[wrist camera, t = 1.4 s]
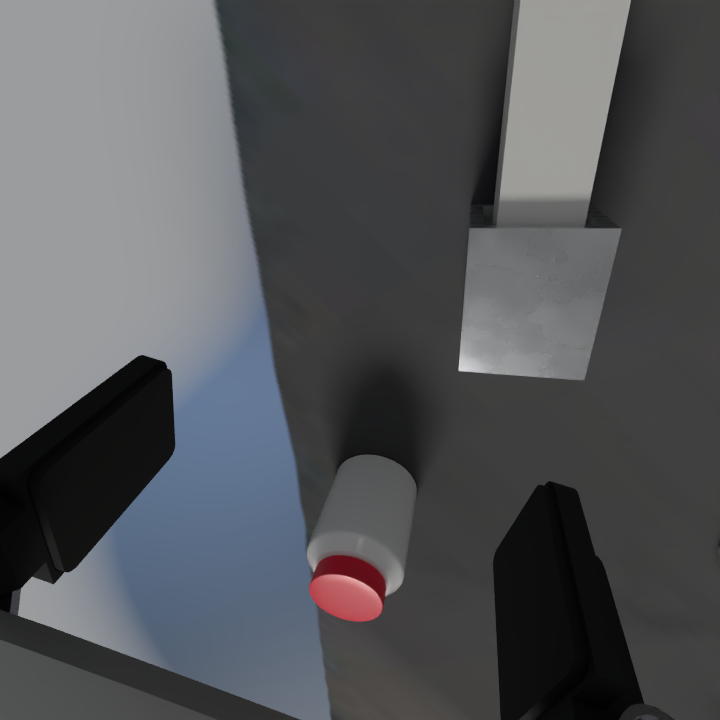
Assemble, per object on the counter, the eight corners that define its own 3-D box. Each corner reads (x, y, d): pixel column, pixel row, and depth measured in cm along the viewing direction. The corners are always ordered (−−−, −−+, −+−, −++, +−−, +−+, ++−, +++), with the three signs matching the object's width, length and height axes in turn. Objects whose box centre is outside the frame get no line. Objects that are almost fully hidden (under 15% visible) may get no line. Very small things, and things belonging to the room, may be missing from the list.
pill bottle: (320, 467, 40) (274, 573, 31) (389, 443, 37) (360, 554, 28) (363, 522, 43) (332, 635, 33) (432, 504, 39) (419, 625, 30)
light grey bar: (635, -160, 17) (682, -241, 13) (545, 334, 28) (556, 369, 24) (527, -141, 18) (541, -211, 14) (480, 330, 29) (481, 364, 25)
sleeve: (589, 202, 24) (621, 228, 19) (563, 328, 28) (584, 380, 23) (470, 204, 26) (469, 228, 20) (461, 323, 30) (458, 370, 24)
